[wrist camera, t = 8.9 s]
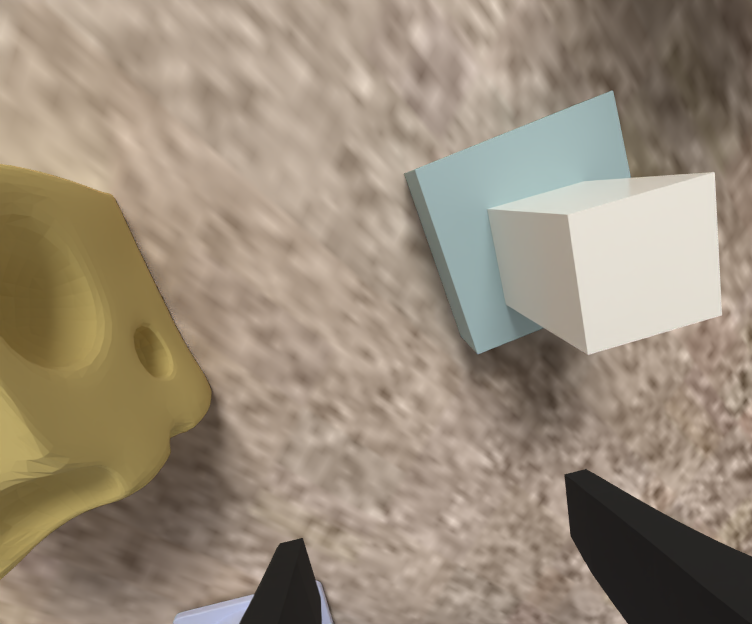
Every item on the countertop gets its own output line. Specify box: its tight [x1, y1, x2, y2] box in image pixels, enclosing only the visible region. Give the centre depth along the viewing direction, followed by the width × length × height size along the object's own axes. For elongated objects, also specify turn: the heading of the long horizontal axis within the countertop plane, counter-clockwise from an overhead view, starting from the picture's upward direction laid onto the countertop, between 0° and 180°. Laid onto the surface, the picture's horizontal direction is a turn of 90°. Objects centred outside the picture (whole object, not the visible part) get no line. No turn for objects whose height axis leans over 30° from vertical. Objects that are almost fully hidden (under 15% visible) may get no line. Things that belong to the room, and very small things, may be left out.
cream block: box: [487, 172, 722, 355], centre depth 15 cm, size 4×4×6 cm
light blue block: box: [404, 90, 631, 354], centre depth 19 cm, size 8×8×3 cm
